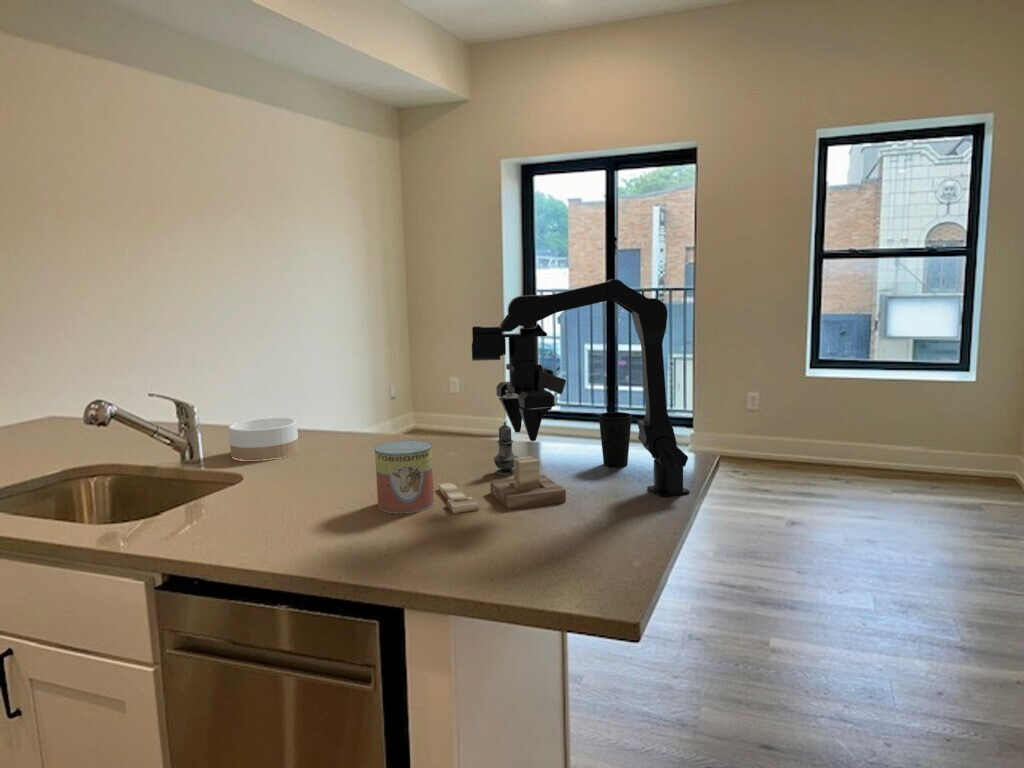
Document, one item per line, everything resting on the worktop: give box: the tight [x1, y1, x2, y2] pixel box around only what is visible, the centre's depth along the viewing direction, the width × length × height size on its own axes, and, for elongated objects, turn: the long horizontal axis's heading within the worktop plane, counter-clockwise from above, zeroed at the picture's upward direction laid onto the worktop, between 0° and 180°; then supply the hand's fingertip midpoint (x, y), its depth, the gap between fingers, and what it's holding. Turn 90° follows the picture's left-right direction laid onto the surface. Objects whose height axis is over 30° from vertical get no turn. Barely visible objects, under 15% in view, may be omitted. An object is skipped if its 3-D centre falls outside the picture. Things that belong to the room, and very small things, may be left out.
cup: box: [598, 411, 633, 468], centre depth 171 cm, size 8×8×12 cm
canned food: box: [374, 440, 435, 515], centre depth 144 cm, size 11×11×12 cm
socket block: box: [489, 474, 567, 510], centre depth 148 cm, size 12×12×2 cm
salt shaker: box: [492, 421, 520, 477], centre depth 166 cm, size 6×6×12 cm
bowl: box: [228, 417, 300, 460], centre depth 193 cm, size 17×17×8 cm
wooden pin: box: [513, 455, 540, 491], centre depth 147 cm, size 4×4×8 cm
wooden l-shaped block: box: [438, 482, 479, 514], centre depth 148 cm, size 17×5×1 cm, turn 19°
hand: (525, 436), depth 146 cm, fingers open, 9 cm apart
